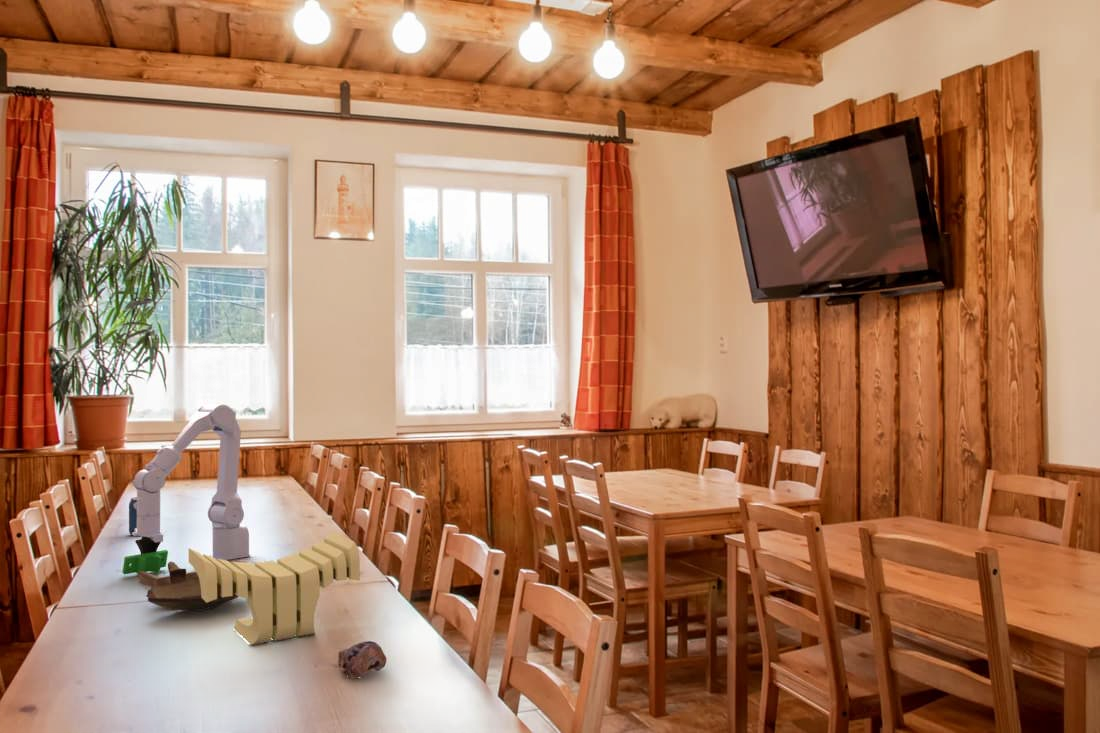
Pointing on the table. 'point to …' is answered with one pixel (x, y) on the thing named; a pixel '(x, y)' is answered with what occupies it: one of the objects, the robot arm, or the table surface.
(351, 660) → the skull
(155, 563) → the pipe clamp
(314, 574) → the slatted curved stool
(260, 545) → the table surface
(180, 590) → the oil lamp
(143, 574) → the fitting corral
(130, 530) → the soda can
